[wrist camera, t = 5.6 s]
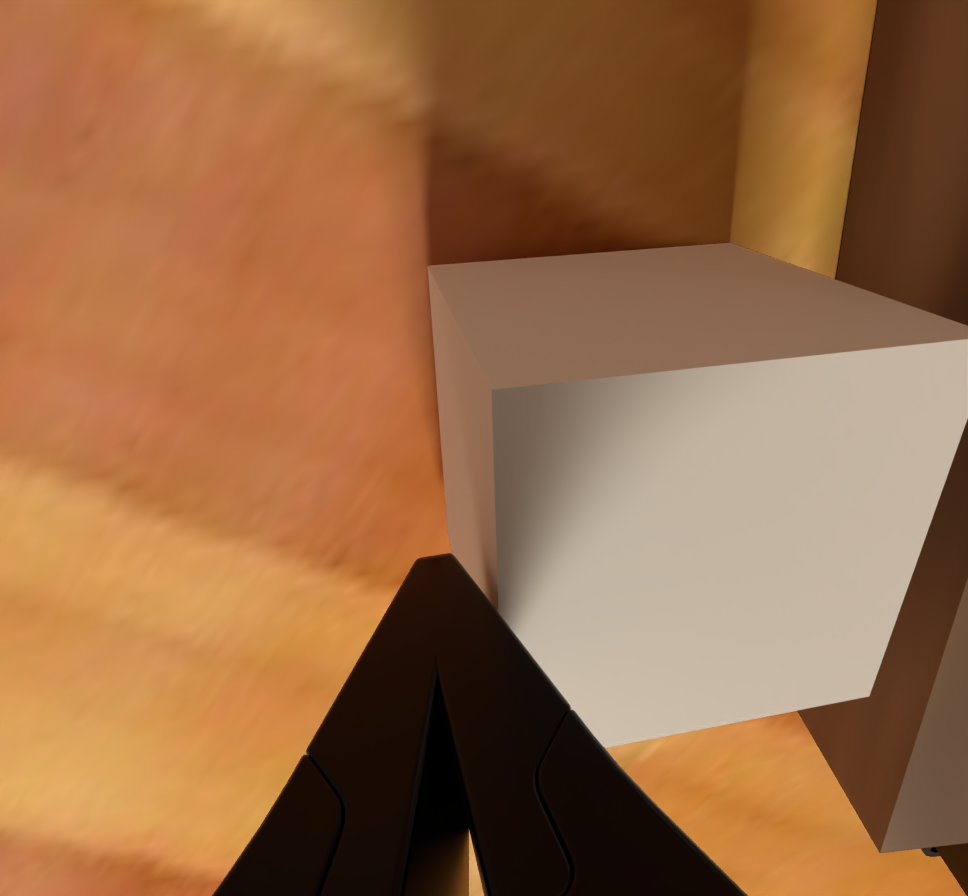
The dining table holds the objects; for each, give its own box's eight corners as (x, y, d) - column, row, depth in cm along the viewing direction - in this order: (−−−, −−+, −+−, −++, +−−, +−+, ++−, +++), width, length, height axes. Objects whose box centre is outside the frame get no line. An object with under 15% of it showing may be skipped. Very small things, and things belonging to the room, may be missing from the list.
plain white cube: (729, 241, 13) (1000, 334, 7) (693, 498, 16) (871, 696, 10) (425, 264, 12) (491, 389, 7) (446, 533, 15) (503, 770, 9)
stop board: (1032, -173, 10) (1503, -397, 5) (845, 665, 18) (971, 842, 14) (902, -157, 10) (1267, -367, 6) (775, 673, 18) (879, 853, 14)
